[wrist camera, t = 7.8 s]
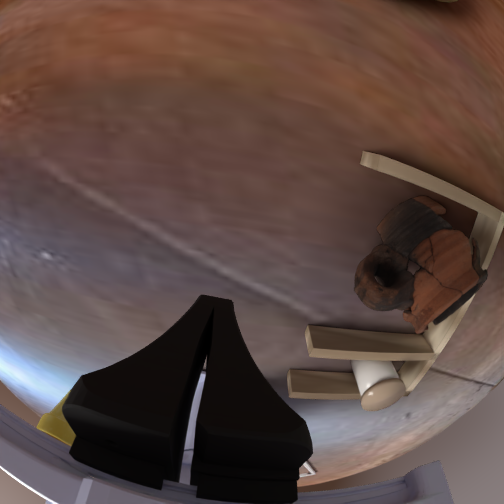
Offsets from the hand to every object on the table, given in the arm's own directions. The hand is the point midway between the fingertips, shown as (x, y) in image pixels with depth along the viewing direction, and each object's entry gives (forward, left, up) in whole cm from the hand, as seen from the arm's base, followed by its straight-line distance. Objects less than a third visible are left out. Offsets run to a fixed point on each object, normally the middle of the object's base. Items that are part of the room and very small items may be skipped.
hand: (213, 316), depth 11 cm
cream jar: (-10, -16, -10) cm, 21 cm away
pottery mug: (+1, -14, -10) cm, 17 cm away
